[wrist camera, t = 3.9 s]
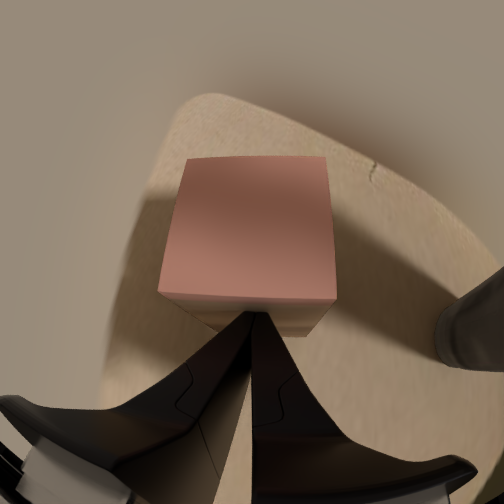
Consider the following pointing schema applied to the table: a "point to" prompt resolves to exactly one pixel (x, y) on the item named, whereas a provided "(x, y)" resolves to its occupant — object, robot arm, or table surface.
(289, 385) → the robot arm
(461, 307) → the beverage cup
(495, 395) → the table surface
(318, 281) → the wooden block
